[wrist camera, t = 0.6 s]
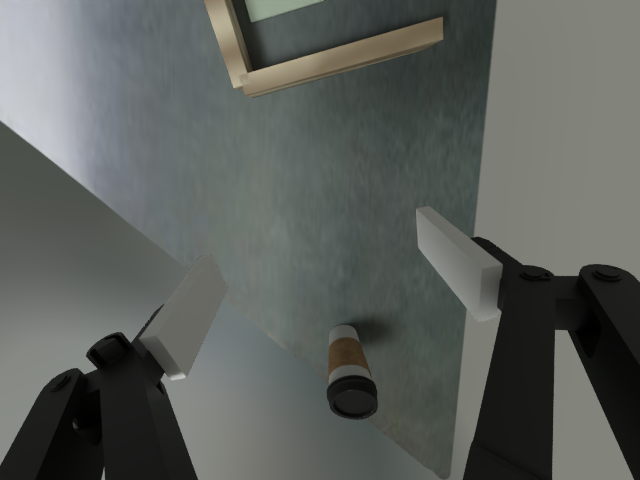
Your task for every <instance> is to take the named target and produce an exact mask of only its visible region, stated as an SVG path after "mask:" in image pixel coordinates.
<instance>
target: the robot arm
mask: <svg viewBox="0 0 640 480" xmlns="http://www.w3.org/2000/svg"><path fill="white" fill-rule="evenodd" d="M416 217H417V235H418V248H419V249H420V250H421V252H422V253H423V254H424V255H425V257H426V258H427V259H428V260H429V262H430V263H431V264H432V265H433V266H434V268H435V269H436V270H437V271H438V273H439V274H440V275H441V276H442V278H443V279H444V280H445V281H446V283H447V284H448V285H449V286H450V288H451V289H452V290H453V291H454V293H455V294H456V295H457V296H458V298H459V299H460V300H461V301H462V303H463V304H464V305H465V306H466V308H467V309H468V310H469V311H470V313H471V314H472V315H473V316H474V318H475V319H476V320H477V321H478V322H481V321H486V320H491V319H496V318H497V310H498V308H499V309H500V310H501V311H502V314H501V318H500V323H499V327H498V332H497V336H496V341H495V345H494V350H493V354H492V359H491V363H490V368H489V373H488V377H487V381H486V386H485V390H484V395H483V400H482V404H481V408H480V413H479V418H478V423H477V427H476V431H475V435H474V439H473V442H472V443H471V447H470V450H469V455H468V459H467V463H466V468H465V472H464V476H463V480H552V449H553V448H552V446H553V398H554V347H555V346H554V345H555V330H568V333H569V335H570V337H571V339H572V341H573V344H574V346H575V348H576V350H577V353H578V355H579V357H580V359H581V362H582V364H583V366H584V368H585V370H586V373H587V375H588V377H589V380H590V382H591V384H592V386H593V388H594V391H595V393H596V395H597V397H598V400H599V402H600V404H601V406H602V409H603V411H604V413H605V415H606V417H607V420H608V422H609V424H610V427H611V429H612V431H613V433H614V435H615V438H616V440H617V442H618V444H619V447H620V449H621V451H622V453H623V456H624V458H625V460H626V462H627V465H628V467H629V469H630V471H631V473H632V476H633V478H634V480H640V282H639V281H638V280H637V279H636V278H635V277H634V276H633V275H632V274H630V273H629V272H627V271H625V270H623V269H620V268H617V267H614V266H609V265H601V264H593V265H587V266H583V267H582V268H581V269H580V272H579V276H554V275H553V274H552V273H551V272H550V271H548V270H546V269H544V268H541V267H536V266H530V265H522V264H521V263H519V262H518V261H517V260H515V259H514V258H512V257H511V256H510V255H508V254H507V253H506V252H504V251H502V250H501V249H500V248H499V247H496V245H494V244H493V243H492V242H490V241H489V240H486V239H483V238H481V237H474V238H469V237H467V236H466V235H465V234H464V233H462V232H461V231H460V230H459V229H457V228H456V227H455V226H453V225H452V224H451V223H450V222H448V221H447V220H446V219H445V218H443V217H442V216H441V215H440V214H438V213H437V212H436V211H435V210H433V209H432V208H431V207H429V206H426V207H421V208H417V209H416ZM227 288H228V287H227V285H226V283H225V281H224V279H223V277H222V275H221V273H220V271H219V269H218V267H217V265H216V263H215V261H214V259H213V257H212V255H211V254H210V255H206V256H201V257H199V259H198V260H197V261H196V263H195V264H194V265H193V267H192V268H191V269H190V271H189V272H188V274H187V275H186V276H185V278H184V279H183V281H182V282H181V283H180V284H179V286H178V287H177V288H176V290H175V291H174V292H173V294H172V295H171V296H170V298H169V299H168V300H167V302H166V303H165V304H163V305H162V306H161V307H160V308H159V309H157V310H156V311H155V312H154V314H153V315H152V316H151V318H150V320H148V322H147V323H146V324H145V326H144V327H143V328H142V329H141V331H140V332H139V333H138V335H137V336H136V337H135V339H134V340H133V341H132V342H131V343H130V342H129V341H128V339H127V338H126V337H125V336H124V334H123V333H121V332H117V333H113V334H110V335H108V336H106V337H104V338H103V339H101V340H100V341H98V342H97V343H96V344H94V345H93V346H92V347H91V348H90V349H89V351H88V352H87V355H86V357H87V358H88V359H89V360H90V361H91V362H92V363H93V364H94V365H95V366H96V367H97V368H98V369H97V370H94V371H92V372H90V373H87V374H85V375H84V374H83V373H82V372H81V371H80V370H79V369H78V368H73V369H70V370H67V371H65V372H63V373H61V374H59V375H58V376H56V377H55V378H53V379H52V380H51V381H50V382H49V383H48V384H47V385H46V386H45V387H44V388H43V390H42V391H41V392H40V394H39V396H38V397H37V399H36V401H35V403H34V405H33V406H32V408H31V410H30V412H29V414H28V416H27V418H26V420H25V421H24V423H23V425H22V427H21V429H20V431H19V432H18V434H17V436H16V438H15V440H14V442H13V443H12V445H11V447H10V449H9V451H8V453H7V455H6V456H5V458H4V460H3V462H2V463H1V465H0V480H101V478H102V474H103V469H104V468H105V480H198V478H197V476H196V473H195V470H194V467H193V465H192V462H191V459H190V456H189V453H188V451H187V448H186V445H185V442H184V439H183V437H182V434H181V431H180V428H179V426H178V422H177V420H176V417H175V414H174V411H173V408H172V406H171V403H170V400H169V397H168V394H167V392H166V389H165V386H164V384H163V383H162V382H161V380H160V379H161V378H162V376H163V374H164V372H165V373H166V375H167V376H168V377H169V379H170V380H176V379H182V378H186V377H187V375H188V374H189V371H190V369H191V367H192V365H193V363H194V360H195V358H196V356H197V354H198V352H199V350H200V347H201V345H202V343H203V341H204V339H205V336H206V334H207V332H208V330H209V328H210V326H211V323H212V321H213V319H214V317H215V315H216V312H217V310H218V308H219V306H220V304H221V302H222V299H223V297H224V295H225V293H226V291H227Z"/></svg>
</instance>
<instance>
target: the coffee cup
mask: <svg viewBox="0 0 640 480" xmlns="http://www.w3.org/2000/svg"><path fill="white" fill-rule="evenodd" d="M328 383H329V387H328V389H327V399H328V401H329V405H330V408H331V410H332V411H333V412H334V413H335V414H337V415H338V416H341V417H344V418H348V419H356V420H359V419H365V418H368V417H370V416H371V415H373V414H374V413H375V412H376V411H377V407H378V402H377V390H376V385H375V383H374V382H373V381H372V380H371V373H370V370H369V367H368V364H367V361H366V358H365V355H364V353H363V350H362V347H361V344H360V341H359V338H358V335H357V332H356V330H355V329H354V328H353V327H352V326H350V325H338V326H336V327H334V328H333V329H332V330H331V331H330V334H329V362H328Z"/></svg>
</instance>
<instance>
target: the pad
mask: <svg viewBox="0 0 640 480" xmlns="http://www.w3.org/2000/svg"><path fill="white" fill-rule="evenodd" d="M323 1H324V0H245V3H246V6H247V10H248V13H249V17H250V20H251V23H254V22H257V21H261V20H264V19H267V18H271V17H274V16H277V15H280V14H284V13H287V12H290V11H294V10H297V9H300V8H303V7H307V6H310V5H313V4H316V3H320V2H323Z"/></svg>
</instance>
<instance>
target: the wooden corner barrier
mask: <svg viewBox="0 0 640 480" xmlns="http://www.w3.org/2000/svg"><path fill="white" fill-rule="evenodd" d="M204 2H205V5H206V8H207V11H208V14H209V17H210V20H211V22H212V25H213V28H214V31H215V34H216V37H217V40H218V43H219V46H220V49H221V52H222V55H223V58H224V61H225V64H226V66H227V69H228V72H229V75H230V78H231V81H232V84H233V87H234V88H235V89H238V90H241V91H244V93H245V95H246V96H249V97H253V98H255V97H258V96H262V95H265V94H269V93H272V92H276V91H279V90H283V89H286V88H290V87H294V86H297V85H301V84H304V83H308V82H311V81H315V80H318V79H322V78H325V77H329V76H333V75H336V74H340V73H343V72H347V71H350V70H354V69H357V68H361V67H364V66H368V65H371V64H375V63H379V62H382V61H386V60H389V59H393V58H396V57H400V56H403V55H407V54H410V53H414V52H418V51H421V50H425V49H427V48H428V47H430V46H432V45H434V44H436V43H437V42H439V41H441V40H443V17H439V18H436V19H432V20H429V21H426V22H422V23H419V24H415V25H412V26H408V27H405V28H401V29H398V30H395V31H391V32H388V33H384V34H381V35H377V36H374V37H370V38H367V39H364V40H360V41H357V42H353V43H350V44H346V45H343V46H339V47H336V48H333V49H329V50H326V51H322V52H319V53H315V54H312V55H308V56H305V57H302V58H298V59H295V60H291V61H288V62H284V63H281V64H277V65H274V66H270V67H267V68H264V69H260V70H257V71H253V69H252V65H251V62H250V59H249V55H248V52H247V49H246V46H245V42H244V39H243V36H242V32H241V29H240V26H239V23H238V19H237V16H236V13H235V9H234V6H233V3H232V0H204Z"/></svg>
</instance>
